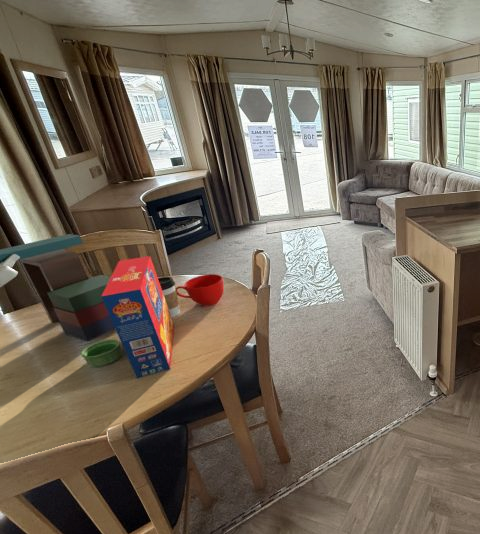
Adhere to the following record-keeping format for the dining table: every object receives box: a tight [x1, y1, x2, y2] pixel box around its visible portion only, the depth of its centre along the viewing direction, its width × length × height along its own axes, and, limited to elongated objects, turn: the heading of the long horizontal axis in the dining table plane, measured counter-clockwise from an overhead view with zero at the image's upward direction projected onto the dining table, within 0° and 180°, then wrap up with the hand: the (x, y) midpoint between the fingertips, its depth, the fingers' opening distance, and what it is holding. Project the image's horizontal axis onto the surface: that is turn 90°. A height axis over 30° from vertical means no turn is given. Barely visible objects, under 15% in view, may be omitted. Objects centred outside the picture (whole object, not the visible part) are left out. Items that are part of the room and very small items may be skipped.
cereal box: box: [101, 255, 175, 379], centre depth 107 cm, size 28×8×28 cm, turn 33°
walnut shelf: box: [18, 249, 89, 324], centre depth 123 cm, size 12×10×26 cm
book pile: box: [47, 274, 116, 342], centre depth 121 cm, size 12×16×16 cm
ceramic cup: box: [175, 273, 225, 307], centre depth 139 cm, size 13×17×10 cm
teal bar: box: [0, 233, 84, 263], centre depth 114 cm, size 6×22×3 cm, turn 162°
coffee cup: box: [158, 276, 181, 319], centre depth 129 cm, size 8×8×15 cm
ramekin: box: [80, 339, 123, 368], centre depth 107 cm, size 9×9×4 cm
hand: (9, 253), depth 109 cm, fingers closed on teal bar, 6 cm apart
